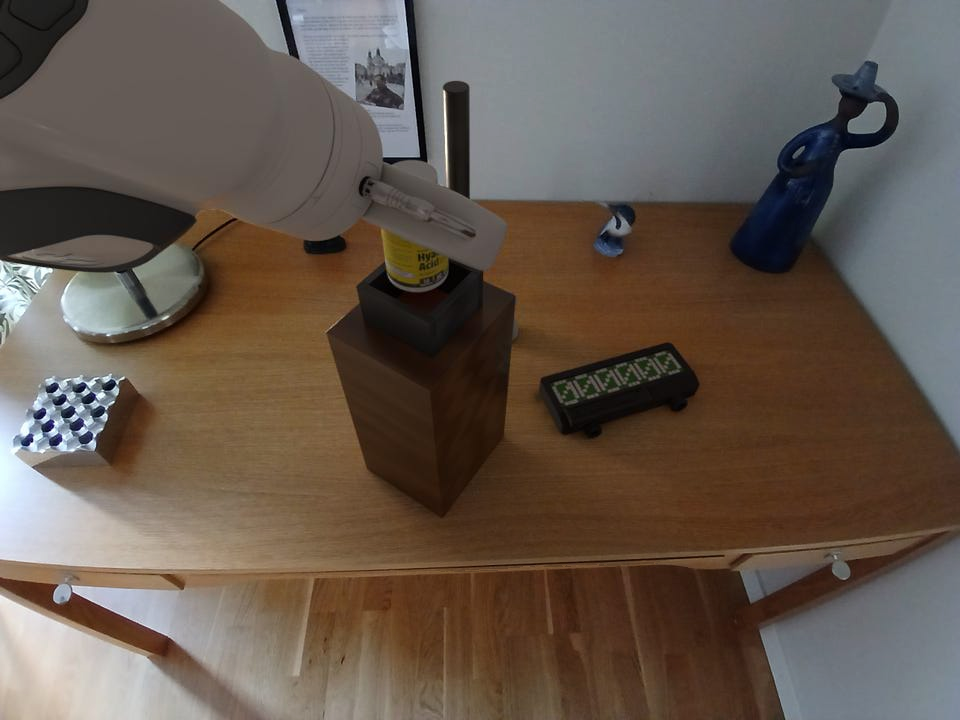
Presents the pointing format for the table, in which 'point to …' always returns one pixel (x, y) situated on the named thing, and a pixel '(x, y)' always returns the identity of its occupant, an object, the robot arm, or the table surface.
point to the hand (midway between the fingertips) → (418, 216)
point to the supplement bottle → (413, 249)
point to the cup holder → (429, 360)
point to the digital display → (618, 388)
